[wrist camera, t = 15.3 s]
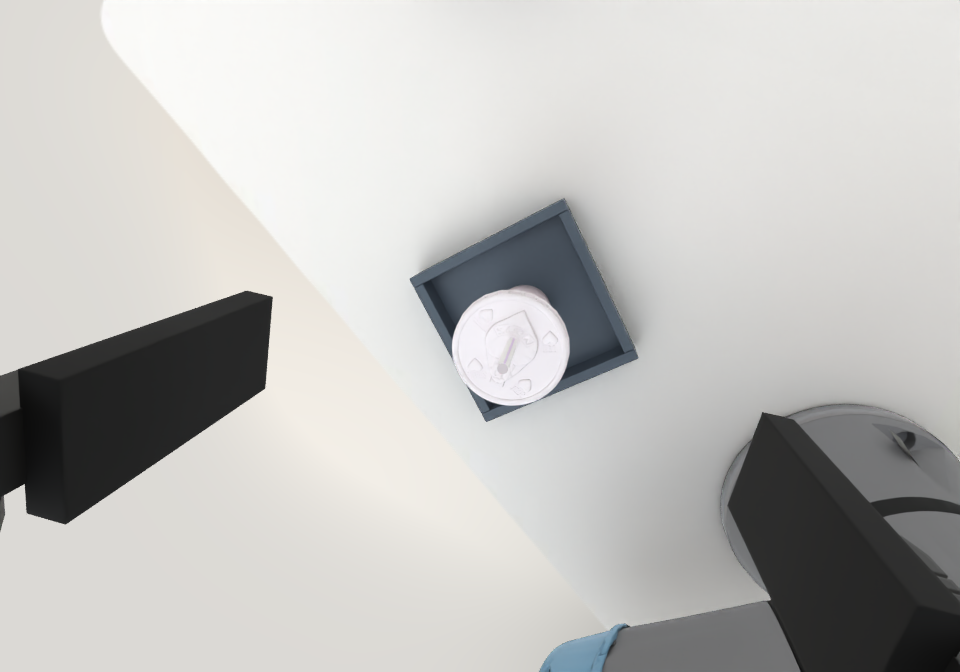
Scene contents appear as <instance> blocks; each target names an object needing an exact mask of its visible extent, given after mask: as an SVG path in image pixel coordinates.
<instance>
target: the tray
mask: <svg viewBox="0 0 960 672" xmlns="http://www.w3.org/2000/svg"><path fill="white" fill-rule="evenodd" d="M410 281H411V283H412V285H413V287H414V288H415V290H416V292H417V294H418V296H419V298H420V300H421V302H422V303H423V305H424V307H425V309H426V311H427V313H428V315H429V316H430V318H431V320H432V322H433V324H434V326H435V328H436V330H437V331H438V333H439V335H440V337H441V339H442V341H443V343H444V344H445V346H446V348H447V350H448V352H449V354H450V356H451V357H452V359H453V355H452V340H453V335H454V332H455V329H456V326H457V324H458V322H459V320H460V318H461V316H462V314H463V313H464V312H465V311H466V310H467V308H468V307H469V306H470V305H471V304H472V303H473V302H475V301H476V300H478V299H479V298H481V297H483V296H484V295H486V294H489V293H493V292H496V291H499V290H509V289H511V288H513V287H515V286H519V285H530V286H534V287H536V288H538V289H540V290H541V291H542V292H543V293H544V294H545V295H546V296H547V298H548V300H549V302H550V304H551V306H552V307H553V308H554V309H555V310H556V311H557V312H558V314H559V316H560V317H561V319H562V320H563V322H564V323H565V326H566V329H567V333H568V336H569V345H570V354H569V358H568V362H567V366H566V369H565V372H564V374H563V376H562V378H561V380H560V381H559V383H558V384H557V385H556V386H555V388H554V389H553V390H552V391H550V392H549V393H548V394H547V395H545V396H544V397H542V398H545V397H547V396H550V395H552V394H554V393H557V392H559V391H562V390H564V389H566V388H569V387H571V386H574V385H576V384H578V383H581V382H583V381H585V380H588V379H590V378H593V377H595V376H597V375H600V374H602V373H605V372H607V371H609V370H612V369H614V368H617V367H619V366H621V365H624V364H626V363H628V362H631V361H633V360H636V359H638V355H637V352H636V349H635V347H634V345H633V343H632V340H631V338H630V336H629V334H628V332H627V330H626V328H625V326H624V323H623V321H622V319H621V317H620V315H619V313H618V311H617V309H616V307H615V304H614V302H613V300H612V298H611V296H610V294H609V292H608V290H607V287H606V285H605V283H604V281H603V279H602V277H601V275H600V273H599V271H598V268H597V266H596V264H595V262H594V260H593V258H592V256H591V254H590V251H589V249H588V247H587V245H586V243H585V241H584V239H583V237H582V235H581V232H580V230H579V228H578V226H577V224H576V222H575V220H574V218H573V215H572V213H571V211H570V209H569V207H568V205H567V203H566V201H565V199H564V198H563V199H561V200H559V201H557V202H556V203H554V204H552V205H550V206H548V207H546V208H544V209H542V210H540V211H538V212H536V213H534V214H532V215H530V216H528V217H527V218H525V219H523V220H521V221H519V222H517V223H515V224H513V225H511V226H509V227H507V228H505V229H503V230H501V231H499V232H498V233H496V234H494V235H492V236H490V237H488V238H486V239H484V240H482V241H480V242H478V243H476V244H474V245H472V246H470V247H468V248H467V249H465V250H463V251H461V252H459V253H457V254H455V255H453V256H451V257H449V258H447V259H445V260H443V261H441V262H439V263H438V264H436V265H434V266H432V267H430V268H428V269H426V270H424V271H422V272H420V273H418V274H417V275H415V276H413V277H412V278H410ZM453 361H454V360H453ZM467 387H468V386H467ZM468 389H469V391H470V393H471V395H472V397H473V398H474V400H475V402H476V404H477V406H478V408H479V410H480V411H481V413H482V415H483V417H484V419H485V421H486V422H487V421H490V420H492V419H495V418H497V417H499V416H502V415H504V414H507V413H509V412H511V411H514V410H516V409H519V408H521V407H523V406H526V405H528V404H530V403H528V404H524V405H516V406H509V405H501V404H496V403H493V402H490V401H488V400H486V399H484V398H482V397H480V396H479V395H477V394H476V393H474V392H473V391H472V390H471V389H470V388H469V387H468ZM542 398H540V399H542ZM540 399H539V400H540ZM536 401H538V400H536ZM534 402H535V401H534ZM531 403H533V402H531Z"/></svg>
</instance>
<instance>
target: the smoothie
mask: <svg viewBox="0 0 960 672" xmlns="http://www.w3.org/2000/svg"><path fill="white" fill-rule="evenodd" d="M569 354H570V345H569V336H568V333H567V329H566V326H565V323H564V322H563V320H562V319H561V317H560V316H559V314H558V312H557V311H556V310H555V309H554V308H553V307H552V306H551V304H550V302H549V300H548V298H547V296H546V295H545V294H544V293H543V292H542V291H541V290H540V289H538V288H536V287H534V286H530V285H519V286H515V287H513V288H511V289H509V290H499V291H496V292H493V293H489V294H486V295H484V296H483V297H481V298H479V299H478V300H476V301H475V302H473V303H472V304H471V305H470V306H469V307H468V308H467V310H466V311H465V312H464V313H463V314H462V316H461V318H460V320H459V322H458V324H457V326H456V329H455V332H454V335H453V340H452V355H453V360H454V364H455V367H456V369H457V371H458V373H459V375H460V377H461V379H462V380H463V381H464V383H465V384H466V385H467V386H468V387H469V388H470V389H471V390H472V391H473V392H474V393H476V394H477V395H479V396H480V397H482V398H484V399H486V400H488V401H490V402H493V403H496V404H501V405H509V406H516V405H524V404H528V403H531V402H534V401H536V400H539V399H540V398H542V397H544V396H545V395H547V394H548V393H549V392H550V391H552V390H553V389H554V388H555V386H556V385H557V384H558V383H559V381H560V380H561V378H562V376H563V374H564V372H565V369H566V366H567V362H568V358H569Z"/></svg>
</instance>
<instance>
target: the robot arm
mask: <svg viewBox="0 0 960 672" xmlns="http://www.w3.org/2000/svg"><path fill="white" fill-rule="evenodd" d="M272 299H273V297H271V296H267V295H263V294H258V293H254V292H250V291H244V292H242V293H239V294H236V295H233V296H230V297H227V298H224V299H221V300H218V301H215V302H212V303H209V304H207V305H204V306H201V307H198V308H195V309H192V310H189V311H186V312H183V313H180V314H178V315H175V316H172V317H169V318H166V319H163V320H160V321H157V322H154V323H151V324H149V325H146V326H143V327H140V328H137V329H134V330H131V331H128V332H125V333H122V334H119V335H117V336H114V337H111V338H108V339H105V340H102V341H99V342H96V343H93V344H90V345H88V346H85V347H82V348H79V349H76V350H73V351H70V352H67V353H64V354H61V355H58V356H55V357H53V358H50V359H47V360H44V361H41V362H38V363H35V364H32V365H30V366H26V367H24V368H21V369H18V370H16V371H13V372H10V373H7V374H4V375H2V376H0V530H1V526H2V523H3V520H4V516H5V509H4V495H5V494H7V493H9V492H11V491H13V490H14V489H16V488H18V487H20V486H22V485H23V484H25V493H26V510H27V513H28V514H31V515H34V516H38V517H41V518H45V519H48V520H52V521H55V522H59V523H62V524H67V523H69V522H70V521H72V520H73V519H74V518H76V517H77V516H79V515H80V514H82V513H83V512H85V511H86V510H88V509H89V508H91V507H92V506H93V505H95V504H96V503H98V502H99V501H101V500H102V499H104V498H105V497H107V496H108V495H110V494H111V493H113V492H114V491H116V490H117V489H118V488H120V487H121V486H123V485H124V484H126V483H127V482H129V481H130V480H132V479H133V478H135V477H136V476H138V475H139V474H140V473H142V472H143V471H145V470H146V469H147V468H149V467H151V466H152V465H154V464H155V463H157V462H158V461H160V460H161V459H163V458H164V457H165V456H167V455H168V454H170V453H171V452H173V451H174V450H176V449H177V448H179V447H180V446H182V445H183V444H184V443H186V442H187V441H189V440H190V439H192V438H193V437H195V436H196V435H198V434H199V433H201V432H202V431H203V430H205V429H207V428H208V427H209V426H211V425H212V424H214V423H215V422H217V421H218V420H220V419H221V418H223V417H224V416H226V415H227V414H229V413H230V412H231V411H233V410H234V409H236V408H237V407H239V406H240V405H242V404H243V403H245V402H246V401H248V400H249V399H250V398H252V397H253V396H255V395H256V394H258V393H259V392H261V391H262V390H264V389H265V384H266V372H267V360H268V347H269V335H270V323H271V310H272ZM721 518H722V523H723V527H724V530H725V533H726V535H727V538H728V540H729V543H730V545H731V547H732V550H733V552H734V554H735V556H736V557H737V559H738V561H739V562H740V564H741V565H742V566H743V568H744V569H745V570H746V571H747V573H748V574H749V575H750V576H751V578H752V579H753V580H754V581H755V582H756V583H757V584H758V585H759V586H760V587H761V588H763V589H764V590H765V591H766V592H767V593H768V594H769V596H770V598H771V601H761V602H757V603H752V604H747V605H742V606H737V607H732V608H727V609H722V610H717V611H712V612H707V613H703V614H698V615H693V616H688V617H683V618H677V619H672V620H666V621H661V622H655V623H650V624H644V625H639V626H633V627H630V626H628V625H627V624H619V625H615V626H614V627H613V628H612V629H611V630H610V631H606V632H603V633H599V634H595V635H591V636H587V637H583V638H580V639H575V640H572V641H568V642H566V643H563V644H562V645H560V646H558V647H557V648H555V649H554V650H553V651H552V652H551V653H550V654H549V656H548V657H547V658H546V660H545V661H544V663H543V665H542V667H541V669H540V671H539V672H960V462H959V460H958V459H957V458H956V457H955V456H954V454H953V453H952V452H951V451H950V450H949V449H948V448H947V447H946V446H945V445H944V444H943V443H942V442H941V441H940V440H938V439H937V438H936V437H934V436H933V435H932V434H930V433H929V432H927V431H926V430H925V429H923V428H922V427H920V426H919V425H917V424H916V423H914V422H913V421H911V420H909V419H907V418H905V417H903V416H901V415H898V414H896V413H893V412H890V411H887V410H883V409H880V408H875V407H870V406H862V405H830V406H823V407H817V408H813V409H808V410H805V411H802V412H798V413H795V414H793V415H791V416H788V417H786V418H785V417H781V416H777V415H773V414H768V413H764V412H762V415H761V418H760V420H759V423H758V426H757V428H756V431H755V434H754V436H753V439H752V440H751V441H750V442H749V443H748V444H747V445H746V446H745V447H744V448H743V450H742V451H741V452H740V453H739V455H738V456H737V457H736V459H735V460H734V462H733V464H732V465H731V467H730V469H729V471H728V474H727V476H726V478H725V481H724V485H723V489H722V494H721Z"/></svg>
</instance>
